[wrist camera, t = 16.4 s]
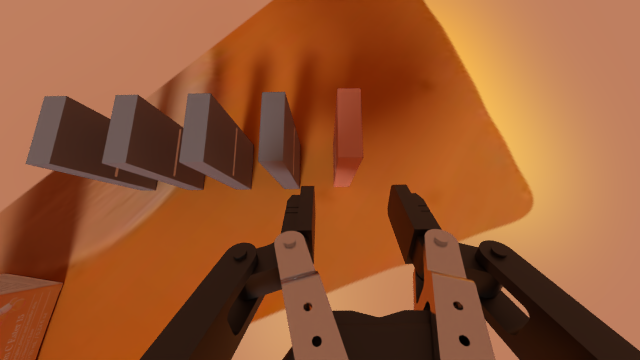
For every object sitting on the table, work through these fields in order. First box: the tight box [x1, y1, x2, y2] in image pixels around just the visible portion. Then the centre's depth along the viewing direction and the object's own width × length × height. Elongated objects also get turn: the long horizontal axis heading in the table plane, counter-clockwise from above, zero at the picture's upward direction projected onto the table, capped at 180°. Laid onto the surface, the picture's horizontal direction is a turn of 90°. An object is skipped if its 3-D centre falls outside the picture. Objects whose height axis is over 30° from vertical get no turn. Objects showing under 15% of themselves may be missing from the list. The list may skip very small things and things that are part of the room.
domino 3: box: [179, 93, 254, 189], centre depth 21 cm, size 2×5×10 cm, turn 0°
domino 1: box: [26, 96, 157, 190], centre depth 21 cm, size 2×5×10 cm, turn 0°
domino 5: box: [333, 88, 363, 187], centre depth 21 cm, size 2×5×10 cm, turn 0°
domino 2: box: [102, 95, 205, 190], centre depth 21 cm, size 2×5×10 cm, turn 0°
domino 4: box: [258, 92, 300, 189], centre depth 21 cm, size 2×5×10 cm, turn 0°
